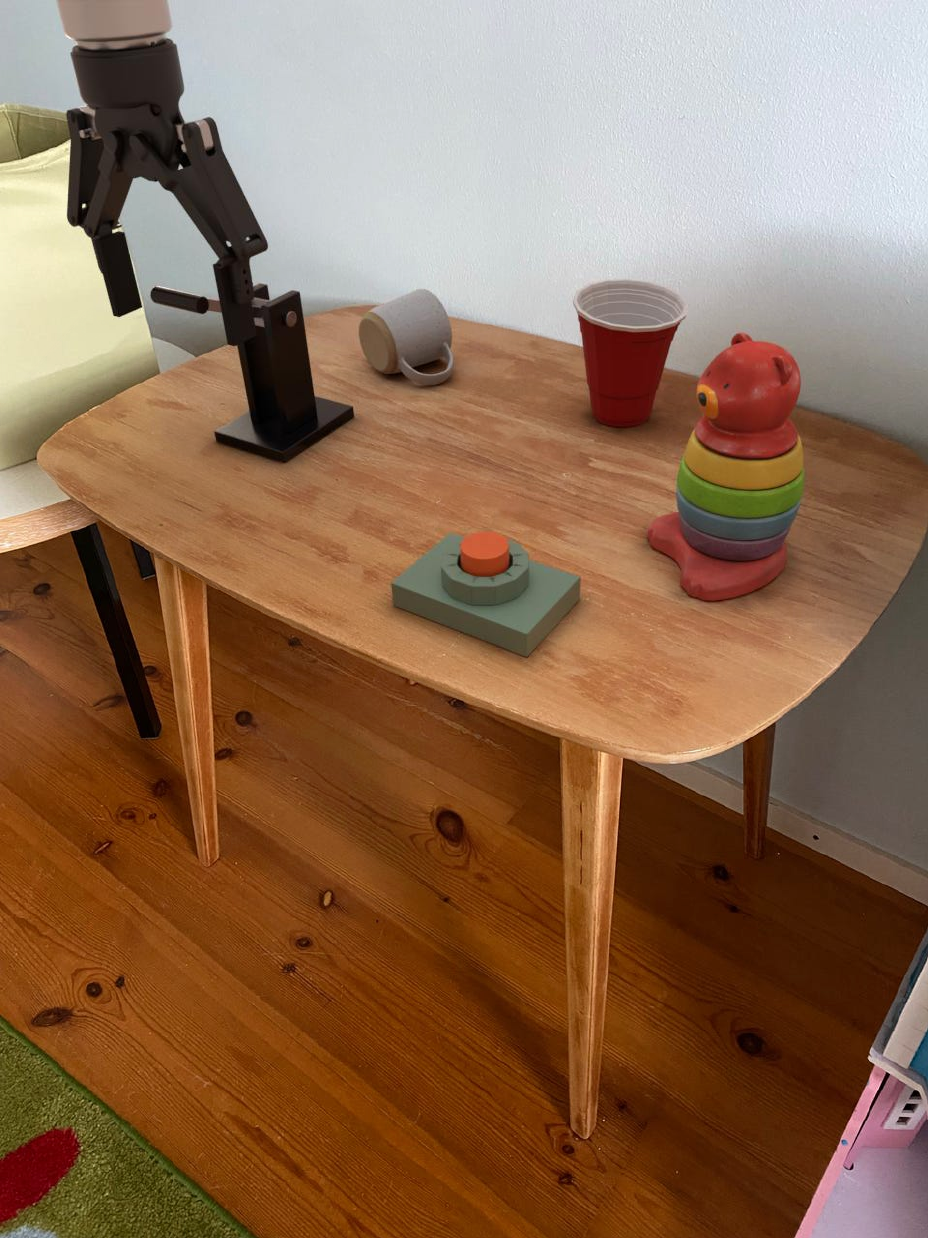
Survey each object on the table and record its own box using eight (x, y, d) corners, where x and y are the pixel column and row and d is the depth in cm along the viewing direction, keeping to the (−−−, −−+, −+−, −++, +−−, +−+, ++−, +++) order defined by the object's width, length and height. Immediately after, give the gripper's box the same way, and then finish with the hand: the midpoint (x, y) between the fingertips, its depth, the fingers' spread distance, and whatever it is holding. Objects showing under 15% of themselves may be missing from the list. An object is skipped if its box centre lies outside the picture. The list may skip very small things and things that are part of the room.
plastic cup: (627, 452, 93) (636, 330, 86) (546, 415, 100) (548, 298, 92) (699, 414, 99) (714, 296, 91) (618, 382, 105) (625, 269, 98)
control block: (393, 605, 76) (388, 563, 73) (451, 554, 81) (448, 513, 79) (527, 657, 70) (527, 614, 68) (580, 599, 76) (582, 556, 73)
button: (451, 569, 73) (450, 549, 72) (478, 545, 76) (477, 526, 74) (492, 583, 72) (492, 564, 70) (518, 559, 74) (518, 540, 73)
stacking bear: (639, 531, 83) (657, 326, 72) (749, 511, 84) (783, 308, 73) (694, 606, 74) (724, 388, 63) (815, 583, 76) (865, 366, 65)
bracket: (284, 463, 94) (260, 323, 86) (215, 441, 98) (186, 306, 90) (354, 416, 101) (339, 283, 93) (287, 398, 105) (266, 268, 97)
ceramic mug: (357, 365, 111) (350, 298, 106) (415, 345, 115) (411, 279, 110) (413, 397, 104) (408, 327, 100) (472, 374, 108) (471, 306, 103)
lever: (195, 319, 81) (198, 289, 81) (148, 307, 84) (151, 278, 83) (297, 333, 93) (301, 306, 92) (253, 322, 95) (257, 297, 94)
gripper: (287, 40, 68) (324, 336, 81) (50, 24, 79) (116, 287, 92) (211, 58, 63) (263, 370, 76) (-31, 38, 74) (51, 314, 87)
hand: (183, 325), depth 84 cm, fingers open, 13 cm apart
